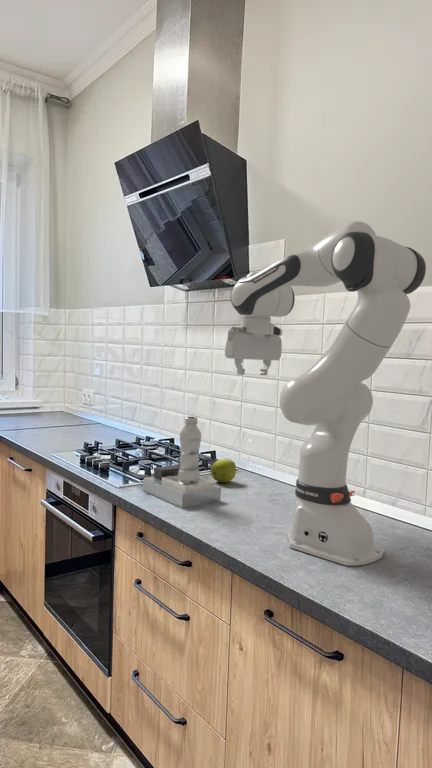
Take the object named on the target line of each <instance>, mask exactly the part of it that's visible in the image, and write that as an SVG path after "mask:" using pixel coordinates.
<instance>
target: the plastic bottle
mask: <svg viewBox="0 0 432 768" xmlns="http://www.w3.org/2000/svg"><path fill="white" fill-rule="evenodd" d="M184 424H185V425H184V427H182V429H181V431H180V433H179V443H180V445H179V446H180V459H179V460H180V461H179V466H180V469H179V471H178V481H179V483H181V484H183V485H193V484H198V482H199V479H200V477H201V474H200V463H199V461H200V460H199V457H200V456H199V454H200V447H201V441H202V433H201V430H200V429H199V427H198V426H197V424H198V417H197V416H185V417H184Z"/></svg>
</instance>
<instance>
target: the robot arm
mask: <svg viewBox="0 0 432 768" xmlns="http://www.w3.org/2000/svg"><path fill="white" fill-rule="evenodd" d="M376 233H377V232H375V230H374V229H373V227H371V225H369V224H368V223H366V222H364V221H359V220H358V221H352V222H349V223H347V224H345V225H343V226H341V227H338V228H337V229H335V230H333V231H332V232H330V233H329V234H327V235H326V236H324V237H323V238H321V239H320V240H318V241H317V242H315V243H314V244H312V245H310V246H308V247H306V248H305V249H302V250H301V251H298V252H296V253H292V254H291V255H289V256H286V257H283V258H281V259H280V260H278V261H276V262H274V263H272V264H271V265H270V266H267V267H265V268H263V269H262V270H261V271H254V272H251V273H248V274H247V275H246V276H244V277H241V278H239V280H238V281H236V282H235V284H234V285H233V286H232V287H231V288H232V289H231V291H230V296H229V298H230V303H231V305H232V307H233V308H234V310H235V311H236V312H237V313H238V314H239V315H240V326H232V327H231V328H230V329H229V330H228V332H227V338H226V343H225V349H224V356H225V357H226V359H234V364H235V365H234V366H235V368H236V374H237V375H239V376H245V374H246V373H245V371H246V368H243V362H244V360H255V361H256V360H259V361H262V364H263V366H262V368H260V369H259V374H260V376H267V375H268V372H269V369H270V367H271V365H272V361H279V360H280V359H281V357H282V347H283V344H282V342H283V341H282V338H281V337H282V335H283V330H282V328H280V327H278V326H277V325H275V324H274V323H272V318H271V317H275V318H282V317H286V316H288V314H291V312H292V310H293V309H294V305H295V301H296V300H295V292H294V290H293V286H294V287H296V286H297V287H298V286H299V287H300V286H301V287H303V286H304V287H314V288H315V287H317V288H320V287H321V288H323V287H325V288H326V287H328V286H332V285H335V284H338V283H341V282H342V283H343V286H344V288H345V289H346V290H347V291H348V292H357V300H356V301H357V302H356V304H355V305H354V308H353V310H352V312H351V313H350V314H349V315H348V317H347V319H346V322H345V323H344V325H342V328H341V330H340V331H339V333H338V335H337V336H336V338H335V340H334V341H333V343H332V344H331V346H330V347H329V348H328V349H327V351H326V352H325V353H324V355H322V356H321V357H320V358H319V359H318V360H317V361H316V362H315V363H314V364H313V365H312V366H311V367H310V368H309V369H308V370H306V371H305V372H304V373H303V374H301V375H300V376H298V377H297V378H295V379H292V380H290V381H289V382H287V383H286V384H285V385H284V386H283V387H282V389H281V392H280V395H279V407H280V410H281V413H282V415H283V416H284V418H285V419H286V420H287V421H289V422H292V423H295V424H298V425H302V426H303V425H304V426H315V427H314V430H313V432H312V433H311V435H310V437H309V438H308V439H307V440H306V441H305V442H304V443H303V444H302V446H300V447H301V448H300V449H299V460H298V461H299V463H298V464H299V465H298V474H297V475H298V477H297V479H296V482H295V488H294V489H295V490H294V491H295V492H294V494H295V497H296V499H295V506H294V513H293V517H292V521H291V524H290V528H289V529H288V530H289V531H288V534H287V540H288V541H289V542H288V547H289V548H290V549H294V550H296V551H300V552H303V553H306V554H310V555H312V556H316V557H320V558H322V559H324V560H328V561H331V562H335V563H338V564H340V565H344V566H350V567H353V566H363V565H367V564H371V563H374V562H376V561H379V560H380V559H382V558H383V556H384V549H383V548H382V547H380V546H378V545H376V544H374V543H375V541H374V539H375V538H374V530H373V527H372V525H371V524H370V522H369V521H368V520H366V517H364V516H363V515H362V514H361V513H360V512H359V510H358V509H357V508H356V507H355V505H353V503H352V502H351V501H352V499H351V497H354V496H355V494H354V493H355V492H356V490H351V491H349V488H348V485H347V483H346V480H347V470H348V468H347V467H348V461H349V454H350V453H349V452H350V448H351V447H352V443H353V439H354V437H355V435H356V433H357V430H358V428H359V427H360V425H361V423H362V421H363V420H364V419H366V417H367V416H369V414H370V412H371V411H372V410H373V409H372V408H373V405H374V404H373V403H374V402H373V401H374V400H373V399H374V398H373V394H372V392H371V389H370V388H369V387H368V386H367V385H366V384H365V383H363V382H364V381H365V380H367V379H369V378H370V377H371V376H373V375H374V374H375V373H376V371H377V369H378V368H379V366H380V365H381V363H382V362H383V360H384V359H385V357H386V356H387V354H388V353H389V351H390V350H391V348H392V346H393V345H394V343H395V342H396V340H397V339H398V337H399V335H400V333H401V332H402V329H403V327H404V325H405V323H406V320H407V317H408V315H409V313H410V312H411V311H410V310H411V300H410V298H409V296H408V295H409V294H413V292H415V291H416V290H417V289H418V288H419V287H420V286H421V285H422V283H423V281H424V279H425V275H426V273H427V272H426V271H427V269H426V268H427V267H426V260H425V259H424V257H423V256H422V255H421V254H420V253H419V252H418V251H416V250H415V249H413V248H412V247H409V246H404V245H402V244H400V243H398V242H396V241H393V240H392V239H389V238H387V237H385V236H378V235H377V234H376Z"/></svg>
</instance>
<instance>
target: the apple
mask: <svg viewBox="0 0 432 768" xmlns="http://www.w3.org/2000/svg"><path fill="white" fill-rule="evenodd" d="M237 470H238V469H237V466H236V463H235V462H234V461H233V460H232V459H230V458H220V459H218V460H216V461H215V462H214V463H213V464H212V465H211V467H210V470H209V472H210V474H211V477H212V479H213V480H214V481H216V482H218V483H223V484H224V483H229V482H231V481H233V479H234V478H235V477H236V474H237Z"/></svg>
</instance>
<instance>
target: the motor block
mask: <svg viewBox="0 0 432 768" xmlns="http://www.w3.org/2000/svg"><path fill="white" fill-rule="evenodd" d="M179 469H180V465H177V464H172V465H166V466H165V465H163V466H158V467H154V470H153V476H147V477H143V484H142V485H143V486H142V488H143V489H142V491H143V492H145V493H148V494H150V495H152V496H154V497H157V498H159V499H161V500H164V501H166V502H168V503H170V504H173V505H175V506H177V507H179V508H182V509H184V508H188V507H195V506H200V505H204V504H210V503H215V502H221V499H222V497H221V496H222V486H221V487H220V486H219V485H216V484H215V481H212V480H209V479H207V478H205V477H201V476H200V479H199V482H198V484H193V485H183V484H181V483H179V481H178V471H179Z"/></svg>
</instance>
